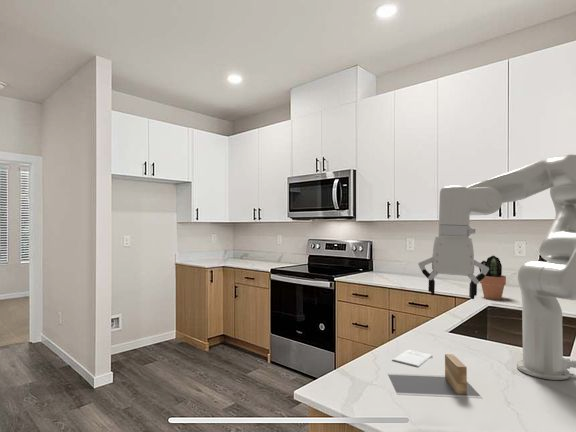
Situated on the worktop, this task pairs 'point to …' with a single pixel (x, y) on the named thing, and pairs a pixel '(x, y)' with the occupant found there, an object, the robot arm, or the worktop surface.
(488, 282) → the potted plant
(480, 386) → the worktop surface
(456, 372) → the wooden block
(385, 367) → the worktop surface
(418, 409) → the worktop surface
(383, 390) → the worktop surface
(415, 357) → the external hard drive
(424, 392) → the mat
